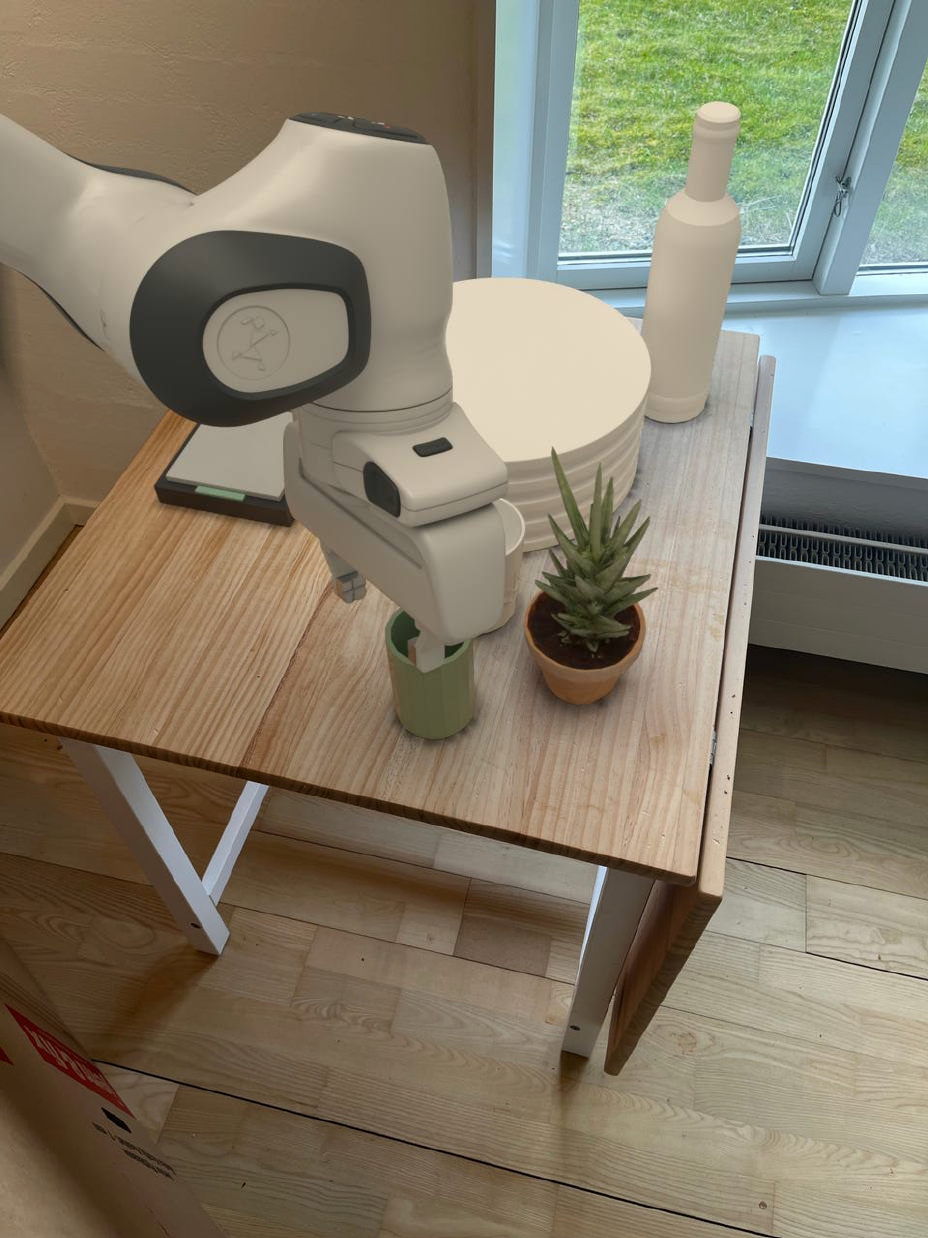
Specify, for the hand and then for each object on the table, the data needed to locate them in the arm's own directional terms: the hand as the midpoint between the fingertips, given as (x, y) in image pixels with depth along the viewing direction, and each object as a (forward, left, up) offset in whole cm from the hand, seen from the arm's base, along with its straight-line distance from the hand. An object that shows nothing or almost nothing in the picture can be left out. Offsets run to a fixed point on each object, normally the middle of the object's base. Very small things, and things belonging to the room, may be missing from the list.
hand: (386, 628), depth 62 cm
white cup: (+12, +11, -17) cm, 24 cm away
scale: (0, +38, -17) cm, 42 cm away
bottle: (+43, +27, -17) cm, 54 cm away
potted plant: (+16, 0, -17) cm, 23 cm away
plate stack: (+23, +28, -17) cm, 40 cm away
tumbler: (+4, +3, -17) cm, 18 cm away
